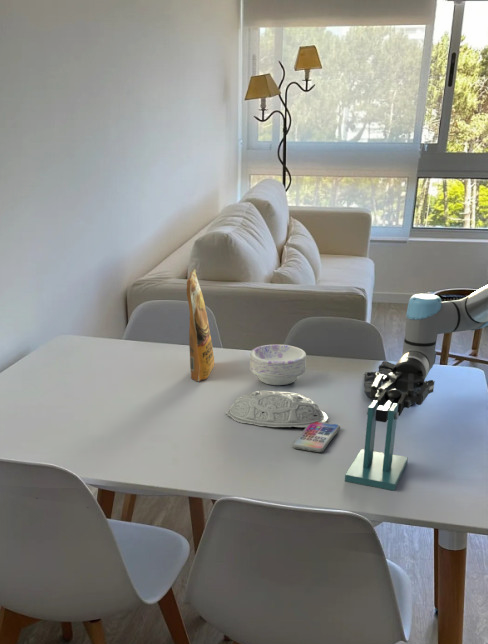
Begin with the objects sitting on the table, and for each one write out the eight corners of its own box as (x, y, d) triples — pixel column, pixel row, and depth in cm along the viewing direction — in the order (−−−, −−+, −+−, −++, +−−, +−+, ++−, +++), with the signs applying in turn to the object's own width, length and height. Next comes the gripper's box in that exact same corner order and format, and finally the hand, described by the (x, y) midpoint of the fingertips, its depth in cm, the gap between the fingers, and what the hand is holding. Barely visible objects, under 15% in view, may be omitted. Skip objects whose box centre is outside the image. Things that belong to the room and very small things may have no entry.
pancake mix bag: (181, 383, 192) (178, 279, 180) (195, 361, 209) (193, 265, 197) (205, 384, 191) (203, 280, 179) (217, 362, 208) (216, 266, 196)
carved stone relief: (321, 430, 161) (321, 402, 159) (217, 424, 168) (216, 396, 166) (333, 412, 175) (333, 386, 173) (236, 407, 182) (236, 382, 180)
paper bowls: (275, 393, 185) (276, 364, 182) (238, 378, 196) (238, 350, 192) (316, 381, 194) (318, 353, 190) (279, 367, 204) (280, 340, 201)
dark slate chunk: (354, 401, 180) (356, 384, 178) (365, 373, 199) (367, 357, 197) (416, 408, 176) (418, 390, 174) (421, 379, 195) (423, 363, 193)
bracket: (360, 455, 152) (366, 390, 146) (407, 463, 149) (415, 398, 142) (344, 481, 141) (350, 413, 135) (394, 490, 138) (402, 421, 132)
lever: (386, 401, 152) (388, 385, 150) (403, 404, 150) (405, 388, 149) (371, 423, 140) (372, 406, 138) (389, 426, 138) (391, 408, 137)
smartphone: (290, 444, 155) (311, 419, 167) (290, 448, 155) (311, 423, 167) (322, 449, 152) (341, 424, 164) (322, 453, 152) (341, 428, 165)
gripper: (444, 393, 162) (427, 431, 143) (373, 382, 168) (347, 418, 149) (449, 361, 159) (431, 396, 140) (375, 352, 165) (349, 384, 146)
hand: (388, 407), depth 144 cm, fingers closed on lever, 4 cm apart
